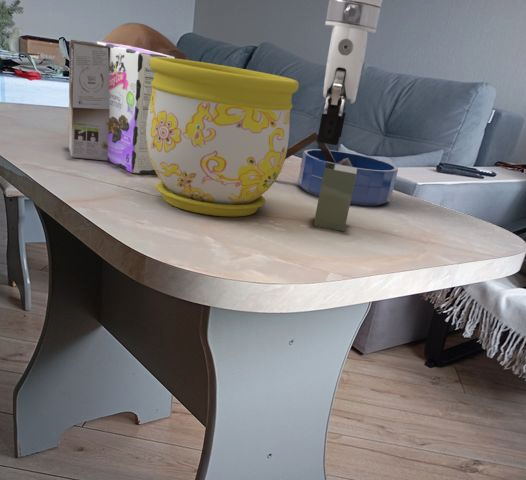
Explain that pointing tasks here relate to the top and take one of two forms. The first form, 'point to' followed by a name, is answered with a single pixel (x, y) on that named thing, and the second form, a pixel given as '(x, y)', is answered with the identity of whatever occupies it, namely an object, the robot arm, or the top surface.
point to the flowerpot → (217, 134)
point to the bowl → (367, 178)
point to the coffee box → (89, 100)
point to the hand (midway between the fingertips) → (329, 139)
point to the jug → (143, 39)
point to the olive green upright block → (335, 196)
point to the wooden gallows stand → (323, 146)
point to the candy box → (129, 106)
